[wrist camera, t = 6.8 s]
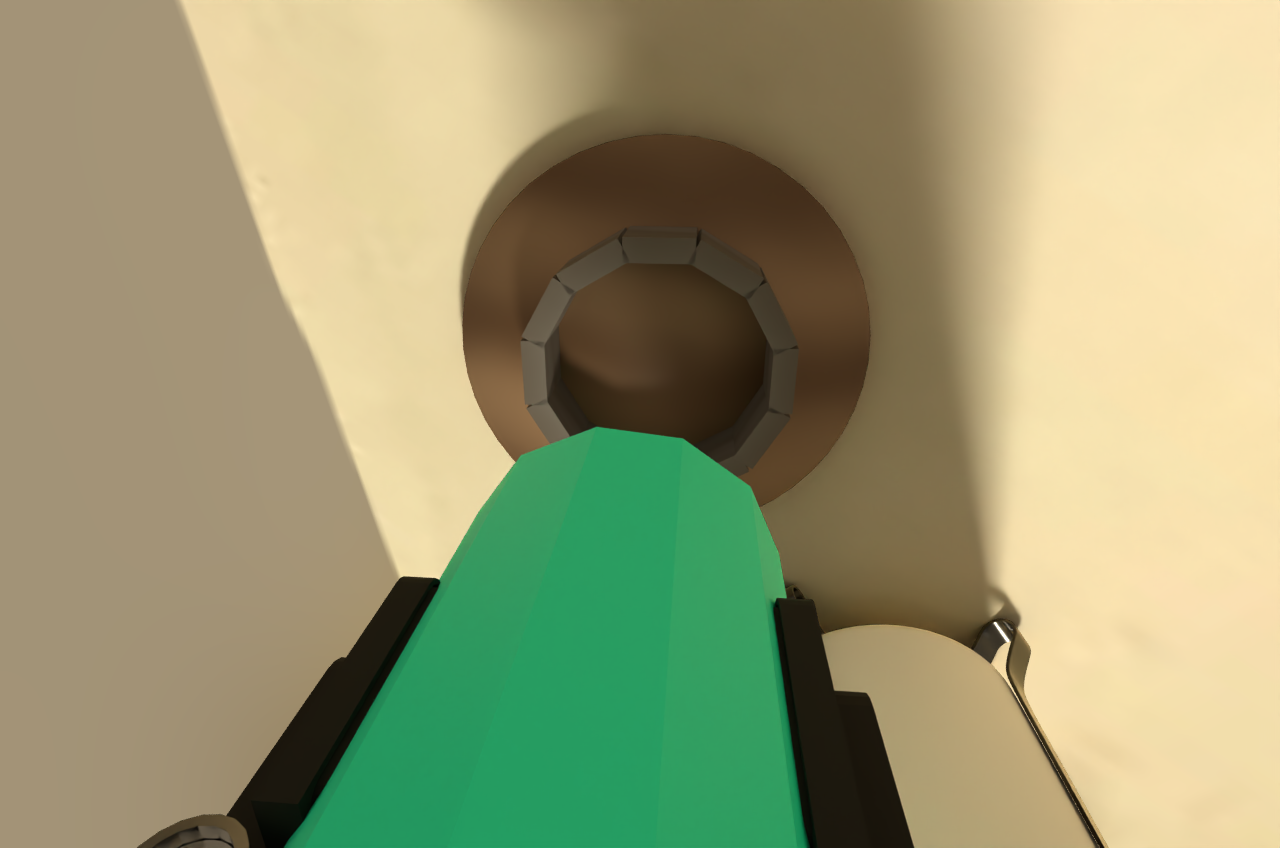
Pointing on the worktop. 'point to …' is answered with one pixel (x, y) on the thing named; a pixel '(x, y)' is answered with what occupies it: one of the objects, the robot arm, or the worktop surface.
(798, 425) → the candle holder
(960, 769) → the coffee press
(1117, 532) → the worktop surface
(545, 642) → the candle
